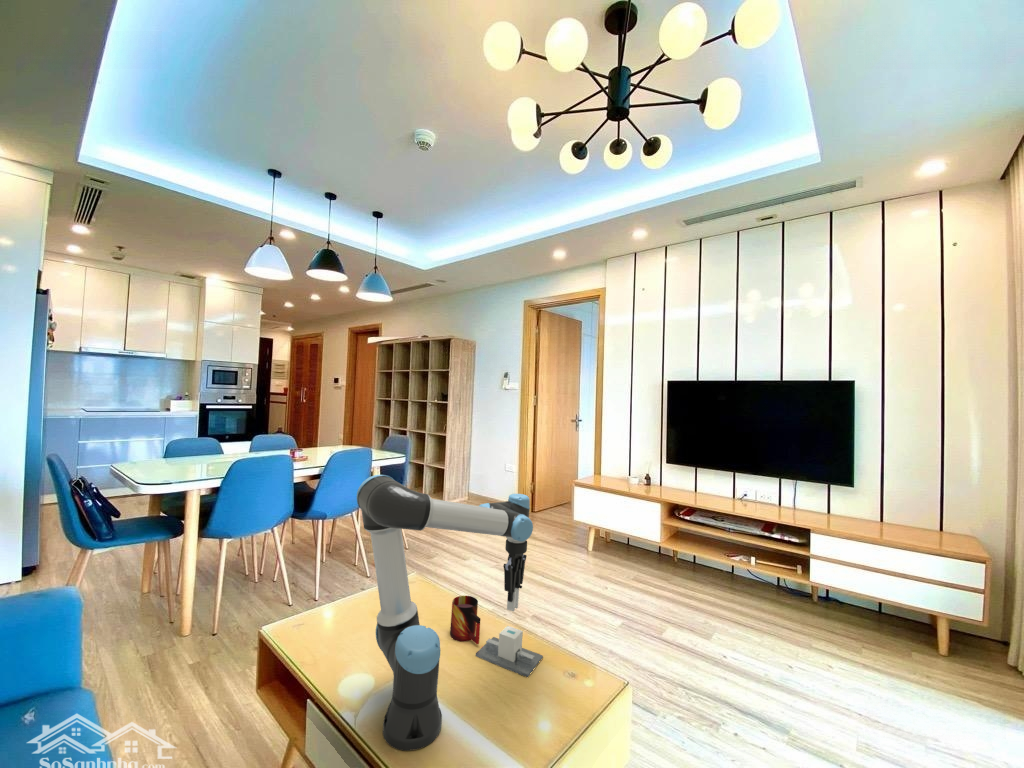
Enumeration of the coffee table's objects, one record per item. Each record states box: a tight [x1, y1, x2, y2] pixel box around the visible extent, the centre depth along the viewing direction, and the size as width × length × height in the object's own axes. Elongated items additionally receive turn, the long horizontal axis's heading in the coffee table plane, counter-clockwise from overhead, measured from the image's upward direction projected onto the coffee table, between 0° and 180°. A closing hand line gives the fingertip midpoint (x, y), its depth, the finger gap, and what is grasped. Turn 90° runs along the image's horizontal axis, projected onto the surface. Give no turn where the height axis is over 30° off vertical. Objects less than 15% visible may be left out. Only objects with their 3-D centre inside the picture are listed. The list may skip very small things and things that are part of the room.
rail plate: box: [475, 636, 544, 678], centre depth 141 cm, size 12×20×3 cm, turn 62°
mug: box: [449, 595, 482, 645], centre depth 153 cm, size 10×14×12 cm
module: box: [498, 625, 524, 662], centre depth 141 cm, size 6×6×8 cm
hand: (512, 608), depth 142 cm, fingers open, 2 cm apart
